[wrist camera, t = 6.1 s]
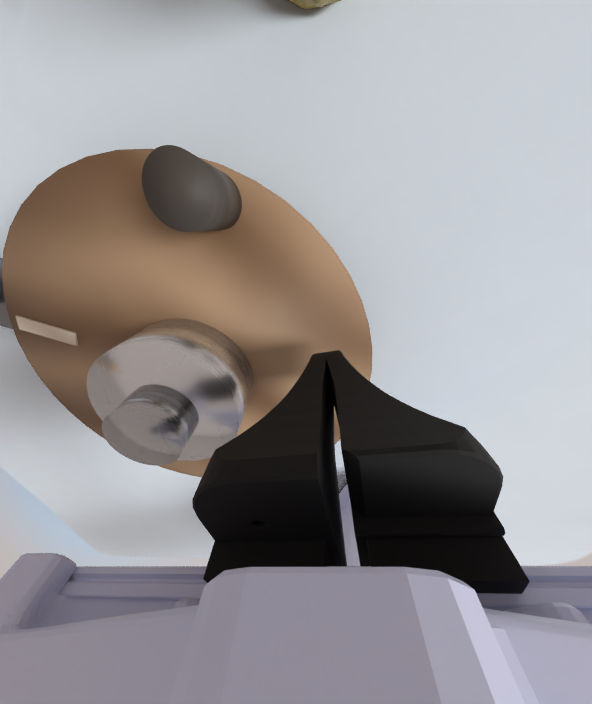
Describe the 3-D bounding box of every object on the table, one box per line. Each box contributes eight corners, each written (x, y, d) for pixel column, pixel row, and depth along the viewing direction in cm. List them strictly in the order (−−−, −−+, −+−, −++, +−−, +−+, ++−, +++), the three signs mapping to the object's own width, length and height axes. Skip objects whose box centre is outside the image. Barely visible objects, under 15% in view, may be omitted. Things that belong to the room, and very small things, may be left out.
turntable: (302, 489, 20) (299, 548, 16) (62, 426, 18) (-2, 477, 14) (444, 254, 11) (514, 270, 7) (-29, 69, 9) (-284, -47, 5)
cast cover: (240, 431, 15) (214, 504, 11) (133, 401, 15) (65, 467, 11) (267, 343, 12) (243, 403, 8) (131, 299, 11) (30, 340, 7)
